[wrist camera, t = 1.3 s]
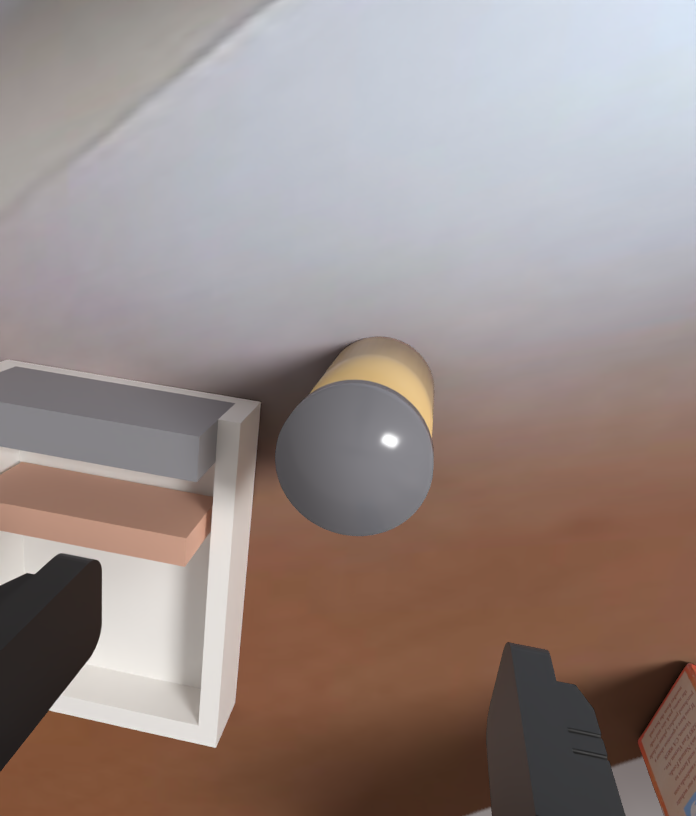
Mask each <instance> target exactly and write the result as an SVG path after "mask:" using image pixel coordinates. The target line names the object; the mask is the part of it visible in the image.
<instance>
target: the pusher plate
mask: <svg viewBox="0 0 696 816" xmlns="http://www.w3.org/2000/svg"><path fill="white" fill-rule="evenodd" d="M212 508H213V497H211V496H206V495H200V494H195V493H189V492H184V491H178V490H173V489H167V488H162V487H157V486H151V485H146V484H140V483H135V482H129V481H124V480H119V479H113V478H108V477H102V476H97V475H91V474H86V473H81V472H75V471H70V470H64V469H59V468H53V467H48V466H42V465H37V464H32V463H26V462H21V463H19V464H18V465H16V466H14V467H12V468H11V469H9V470H7V471H6V472H4V473H2V474H1V475H0V531H5V532H10V533H15V534H20V535H25V536H30V537H35V538H41V539H46V540H51V541H56V542H61V543H66V544H71V545H76V546H81V547H86V548H91V549H97V550H102V551H107V552H112V553H117V554H122V555H127V556H132V557H137V558H142V559H148V560H153V561H158V562H163V563H168V564H173V565H178V566H183V567H185V566H186V565H187V563H188V562H189V561H190V559H191V558H192V556H193V555H194V554H195V552H196V551H197V550H198V548H199V547H200V545H201V544H202V543H203V541H204V540H205V539H206V537H207V536H208V534H209V533H210V532H211V523H212Z"/></svg>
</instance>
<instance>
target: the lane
mask: <svg viewBox="0 0 696 816" xmlns="http://www.w3.org/2000/svg"><path fill="white" fill-rule="evenodd" d="M260 408H261V402H259V401H253V400H247V399H241V398H235V397H229V396H223V395H217V394H212V393H206V392H200V391H194V390H188V389H182V388H176V387H170V386H164V385H158V384H152V383H146V382H140V381H134V380H128V379H122V378H116V377H110V376H104V375H98V374H92V373H86V372H80V371H74V370H68V369H62V368H56V367H50V366H44V365H38V364H32V363H26V362H20V361H14V360H8V359H7V360H4V361H1V362H0V475H1V474H2V473H4V472H6V471H7V470H9V469H11V468H12V467H14V466H16V465H18V464H19V463H21V462H26V463H32V464H37V465H42V466H48V467H53V468H59V469H64V470H70V471H75V472H81V473H86V474H91V475H97V476H102V477H108V478H113V479H119V480H124V481H129V482H135V483H140V484H146V485H151V486H157V487H162V488H167V489H173V490H178V491H184V492H189V493H195V494H200V495H206V496H211V497H213V508H212V523H211V532H210V533H209V534H208V536H207V537H206V539H205V540H204V541H203V543H202V544H201V545H200V547H199V548H198V550H197V551H196V552H195V554H194V555H193V556H192V558H191V559H190V561H189V562H188V563H187V565H186V566H185V567H183V566H178V565H173V564H168V563H163V562H158V561H153V560H148V559H142V558H137V557H132V556H127V555H122V554H117V553H112V552H107V551H102V550H97V549H91V548H86V547H81V546H76V545H71V544H66V543H61V542H56V541H51V540H46V539H41V538H35V537H30V536H25V535H20V534H15V533H10V532H5V531H0V585H2V584H4V583H7V582H9V581H11V580H13V579H15V578H17V577H19V576H21V575H24V574H26V573H30V574H36V573H37V572H38V571H39V570H40V569H41V568H42V567H43V566H44V565H46V564H47V563H48V562H49V561H50V560H51V559H52V558H53V557H55V556H56V555H57V554H59V553H65V554H70V555H75V556H80V557H85V558H90V559H95V560H98V561H99V562H100V564H101V567H102V628H101V634H100V637H99V641H98V644H97V646H96V648H95V650H94V652H93V654H92V656H91V657H90V659H89V660H88V661H87V662H86V664H85V665H84V666H83V667H82V669H81V670H80V671H79V673H78V674H77V675H76V676H75V678H74V679H73V680H72V681H71V683H70V684H69V685H68V687H67V688H66V689H65V690H64V692H63V693H62V694H61V695H60V697H59V698H58V699H57V700H56V702H55V703H54V704H53V706H52V707H51V708H50V709H49V710H50V711H54V712H59V713H63V714H68V715H72V716H76V717H81V718H85V719H90V720H94V721H99V722H103V723H108V724H112V725H117V726H121V727H125V728H130V729H134V730H139V731H143V732H148V733H152V734H157V735H161V736H166V737H170V738H174V739H179V740H183V741H188V742H192V743H197V744H201V745H206V746H210V747H214V748H216V746H217V744H218V742H219V739H220V737H221V735H222V732H223V730H224V727H225V725H226V723H227V720H228V718H229V716H230V713H231V711H232V709H233V706H234V704H235V699H236V687H237V675H238V664H239V652H240V641H241V629H242V617H243V606H244V594H245V583H246V571H247V559H248V548H249V536H250V525H251V513H252V501H253V490H254V478H255V466H256V455H257V443H258V432H259V420H260Z"/></svg>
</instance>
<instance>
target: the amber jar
mask: <svg viewBox="0 0 696 816" xmlns="http://www.w3.org/2000/svg"><path fill="white" fill-rule="evenodd" d="M433 407H434V382H433V377H432V374H431V371H430V369H429V367H428V365H427V363H426V361H425V360H424V359H423V357H422V356H421V355H420V354H419V353H418V352H417V351H416V350H415V349H414V348H412V347H411V346H409V345H408V344H406V343H404V342H402V341H399V340H397V339H393V338H389V337H369V338H364V339H361V340H358V341H356V342H354V343H352V344H351V345H349V346H347V347H346V348H345V349H344V350H342V351H341V352H340V354H339V355H338V356H337V357H336V358H335V360H334V361H333V362H332V364H331V365H330V366H329V368H328V369H327V371H326V372H325V373H324V375H323V376H322V377H321V379H320V380H319V381H318V383H317V384H316V386H315V387H314V388H313V390H312V391H311V392H310V394H309V395H308V396H306V397H305V398H304V399H303V400H302V401H301V402H300V403H299V404H298V405H297V407H296V408H295V409H294V411H293V412H292V413H291V415H290V416H289V417H288V419H287V420H286V422H285V423H284V425H283V427H282V429H281V431H280V434H279V437H278V440H277V445H276V451H275V463H276V471H277V475H278V479H279V482H280V484H281V487H282V489H283V491H284V493H285V495H286V496H287V498H288V499H289V501H290V502H291V503H292V505H293V506H294V507H295V508H296V509H297V510H298V511H299V512H300V513H301V514H302V515H303V516H304V517H306V518H307V519H308V520H310V521H311V522H313V523H314V524H316V525H318V526H320V527H322V528H324V529H326V530H329V531H332V532H335V533H339V534H343V535H350V536H367V535H374V534H378V533H383V532H385V531H388V530H391V529H393V528H395V527H397V526H398V525H400V524H402V523H403V522H404V521H406V520H407V519H409V518H410V517H411V516H412V515H413V514H414V513H415V512H416V511H417V509H418V508H419V507H420V506H421V504H422V503H423V501H424V499H425V498H426V496H427V493H428V491H429V488H430V485H431V481H432V476H433V463H434V449H433V442H432V425H433Z"/></svg>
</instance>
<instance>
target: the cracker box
mask: <svg viewBox="0 0 696 816" xmlns="http://www.w3.org/2000/svg"><path fill="white" fill-rule="evenodd" d="M638 745H639V748H640V750H641V753H642V756H643V759H644V761H645V764H646V767H647V770H648V773H649V776H650V778H651V781H652V784H653V787H654V790H655V792H656V795H657V797H658V800H659V803H660V805H661V809H662V812H663V815H664V816H696V665H693V664H691V663H688V664H687V665H686V666H685V667H684V669H683V670H682V672H681V674H680V675H679V677H678V678H677V680H676V682H675V683H674V685H673V686H672V688H671V689H670V691H669V693H668V694H667V696H666V697H665V699H664V700H663V702H662V703H661V705H660V707H659V708H658V710H657V712H656V713H655V715H654V716H653V718H652V719H651V721H650V723H649V724H648V726H647V728H646V729H645V731H644V732H643V734H642V735H641V737H640V738H639V739H638Z"/></svg>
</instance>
